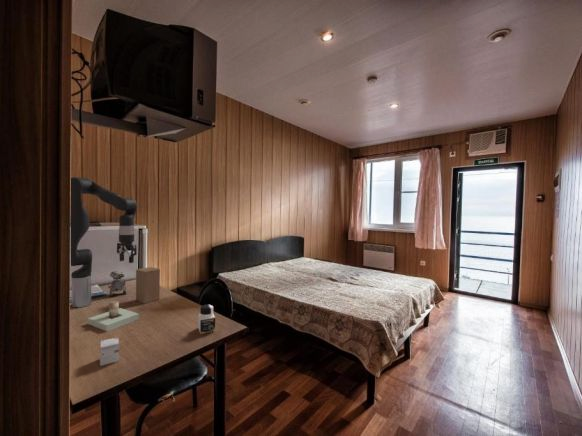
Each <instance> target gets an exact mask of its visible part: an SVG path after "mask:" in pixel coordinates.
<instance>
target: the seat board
mask: <svg viewBox="0 0 582 436" xmlns="http://www.w3.org/2000/svg"><path fill="white" fill-rule="evenodd" d="M139 317H140V314H139V313H137V312H135V311H131V310H128V309H126V308H125V309H124V308H121V307H119V316H118V317H116V318H114V319H110V317H109V311H107V312H106V311H105V312H104V313H100V314H97V315H94V316H91V317H88V318H87V325H90V326H91V325H92V327H95V328H96V329H99V330H101V331H105V332H110V331H113V330H115V329H117V328H119V327H120V328H121V327H122V326H126V325H127V324H131V323H134V322H136V321H138V320H140V318H139Z"/></svg>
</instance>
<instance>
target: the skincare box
mask: <svg viewBox="0 0 582 436" xmlns="http://www.w3.org/2000/svg"><path fill="white" fill-rule="evenodd" d="M99 348H100V349H99V366H102V367H103V366H105V365H110V364H114V363H117V362H119V361H120V360H119V359H120V358H119V357H120V355H119V354H120V353H119V352H120V343H119V336H117V337H114V338H113V337H112V338H108V339H104V340H100V343H99Z"/></svg>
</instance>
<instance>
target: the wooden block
mask: <svg viewBox="0 0 582 436" xmlns="http://www.w3.org/2000/svg"><path fill="white" fill-rule="evenodd" d="M160 270H161V269H160V268H156V267H155V266H154V267H153V266H149V267H144V268H143V267H142V268H137V269H136V273H135V278H136V279H135V280H136V281H135V286H136V287H135V301H137V302H140V303H141V304H144V305H145V304H149V303H151V302H155V301H159V300H160V294H161V293H160V289H161V286H160V284H161V283H160V281H161V280H160V279H161V271H160Z"/></svg>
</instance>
